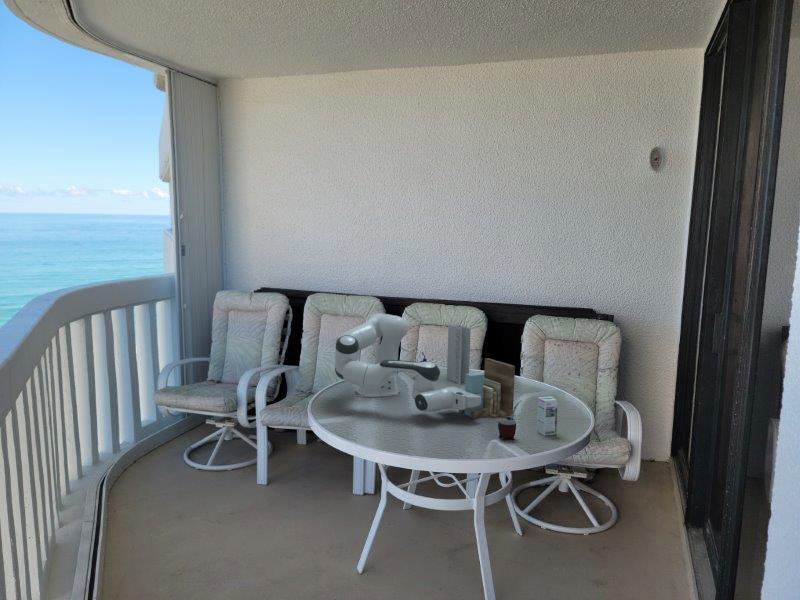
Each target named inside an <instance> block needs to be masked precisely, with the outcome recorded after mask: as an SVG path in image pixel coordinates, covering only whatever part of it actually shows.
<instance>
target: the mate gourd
mask: <svg viewBox="0 0 800 600" xmlns="http://www.w3.org/2000/svg"><path fill="white" fill-rule="evenodd" d="M521 402H522V399H521V400H519V401H518V402H517V403H516V404H515V405H514V406H513V413H512V415H510V416H503V417H499V420H498V422H497V423H498V424H497V429H498V434H499V435H498V438H502V441H506V440H508V441H509V440H510V441H515V435H516V430H517V422H516V419H515V418H514V415H515V413H516V409H517V407H518V406H519V404H520V403H521Z"/></svg>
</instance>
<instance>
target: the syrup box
mask: <svg viewBox="0 0 800 600" xmlns="http://www.w3.org/2000/svg"><path fill="white" fill-rule="evenodd" d="M558 405H559V403H558V399H557V398H556V397H553V396H538V398H537V415H536V416H537V417H536V423H537V424H536V432H537V433H538V434H540V435H541V436H544V437H546V436H555V435H558V434H557V430H558V429H557V428H558V409H559V408H558Z"/></svg>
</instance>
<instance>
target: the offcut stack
mask: <svg viewBox="0 0 800 600" xmlns="http://www.w3.org/2000/svg"><path fill="white" fill-rule="evenodd" d="M500 396H501V383H498V382H495V381H492V380H489V379H486V378H484V388H483V409H484V408H487V409H489V413H490V414H491V413H498V412H500Z"/></svg>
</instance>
